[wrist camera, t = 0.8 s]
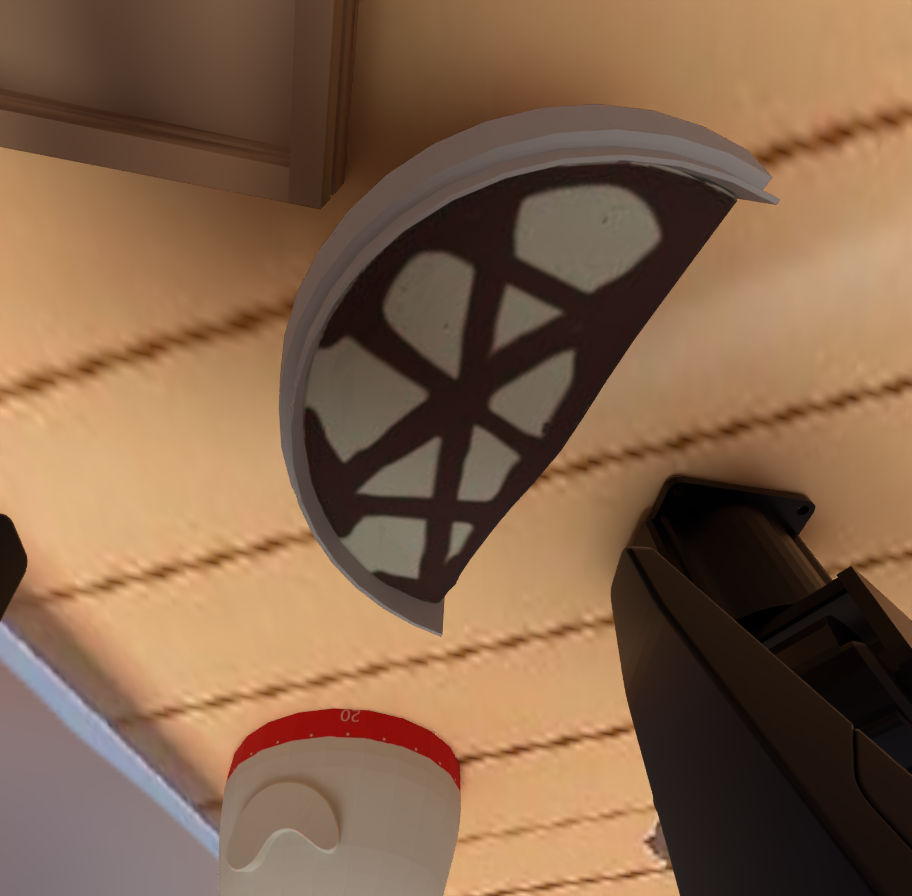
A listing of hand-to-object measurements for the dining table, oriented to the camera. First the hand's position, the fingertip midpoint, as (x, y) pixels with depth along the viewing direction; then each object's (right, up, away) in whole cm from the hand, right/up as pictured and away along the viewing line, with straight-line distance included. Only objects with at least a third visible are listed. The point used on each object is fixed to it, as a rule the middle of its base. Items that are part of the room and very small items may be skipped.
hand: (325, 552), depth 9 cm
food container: (+1, +8, +11) cm, 13 cm away
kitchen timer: (-5, -19, +28) cm, 34 cm away
